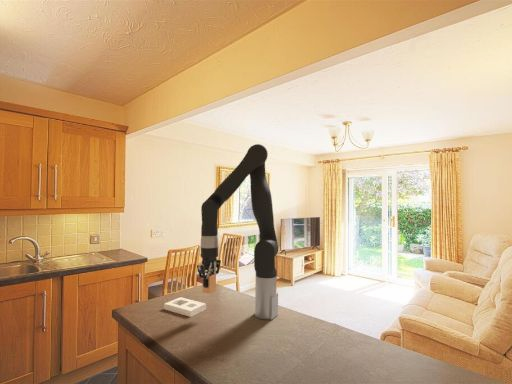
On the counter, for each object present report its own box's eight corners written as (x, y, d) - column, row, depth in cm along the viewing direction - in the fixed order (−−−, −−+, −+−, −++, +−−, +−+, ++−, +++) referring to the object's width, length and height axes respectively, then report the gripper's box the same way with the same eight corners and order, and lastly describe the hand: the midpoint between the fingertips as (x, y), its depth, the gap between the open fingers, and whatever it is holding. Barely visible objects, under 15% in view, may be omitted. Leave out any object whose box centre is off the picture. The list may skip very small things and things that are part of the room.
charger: (215, 291, 121) (215, 270, 121) (209, 293, 117) (210, 272, 118) (208, 289, 123) (208, 269, 123) (202, 292, 119) (202, 271, 120)
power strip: (205, 309, 127) (206, 303, 127) (190, 317, 119) (190, 310, 119) (180, 302, 135) (180, 296, 135) (164, 309, 127) (164, 303, 127)
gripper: (205, 249, 113) (205, 292, 112) (226, 244, 125) (226, 283, 125) (191, 247, 116) (191, 289, 116) (212, 243, 129) (212, 280, 128)
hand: (209, 285), depth 120 cm, fingers closed on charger, 4 cm apart
